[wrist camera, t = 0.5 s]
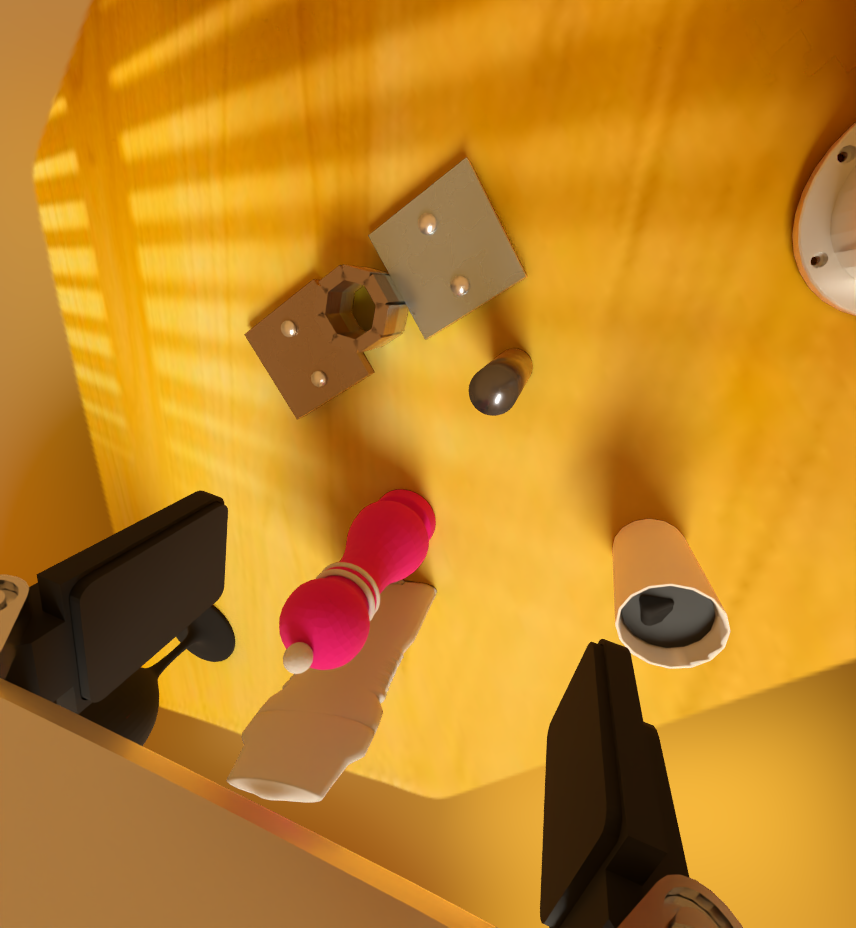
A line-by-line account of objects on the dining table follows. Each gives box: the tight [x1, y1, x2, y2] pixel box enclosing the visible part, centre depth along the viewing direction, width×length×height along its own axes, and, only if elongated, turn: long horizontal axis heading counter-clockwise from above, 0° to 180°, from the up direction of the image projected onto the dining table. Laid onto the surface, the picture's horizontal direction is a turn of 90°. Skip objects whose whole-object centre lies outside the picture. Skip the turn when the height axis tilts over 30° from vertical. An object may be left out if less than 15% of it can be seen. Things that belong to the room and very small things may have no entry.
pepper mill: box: [279, 489, 436, 674], centre depth 35 cm, size 7×7×20 cm
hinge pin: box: [469, 349, 533, 415], centre depth 32 cm, size 3×3×10 cm
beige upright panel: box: [227, 580, 437, 802], centre depth 38 cm, size 11×4×22 cm, turn 104°
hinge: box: [244, 157, 527, 419], centre depth 36 cm, size 24×9×5 cm, turn 121°
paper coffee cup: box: [612, 519, 730, 669], centre depth 34 cm, size 7×7×10 cm
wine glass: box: [53, 605, 235, 746], centre depth 51 cm, size 10×10×20 cm
